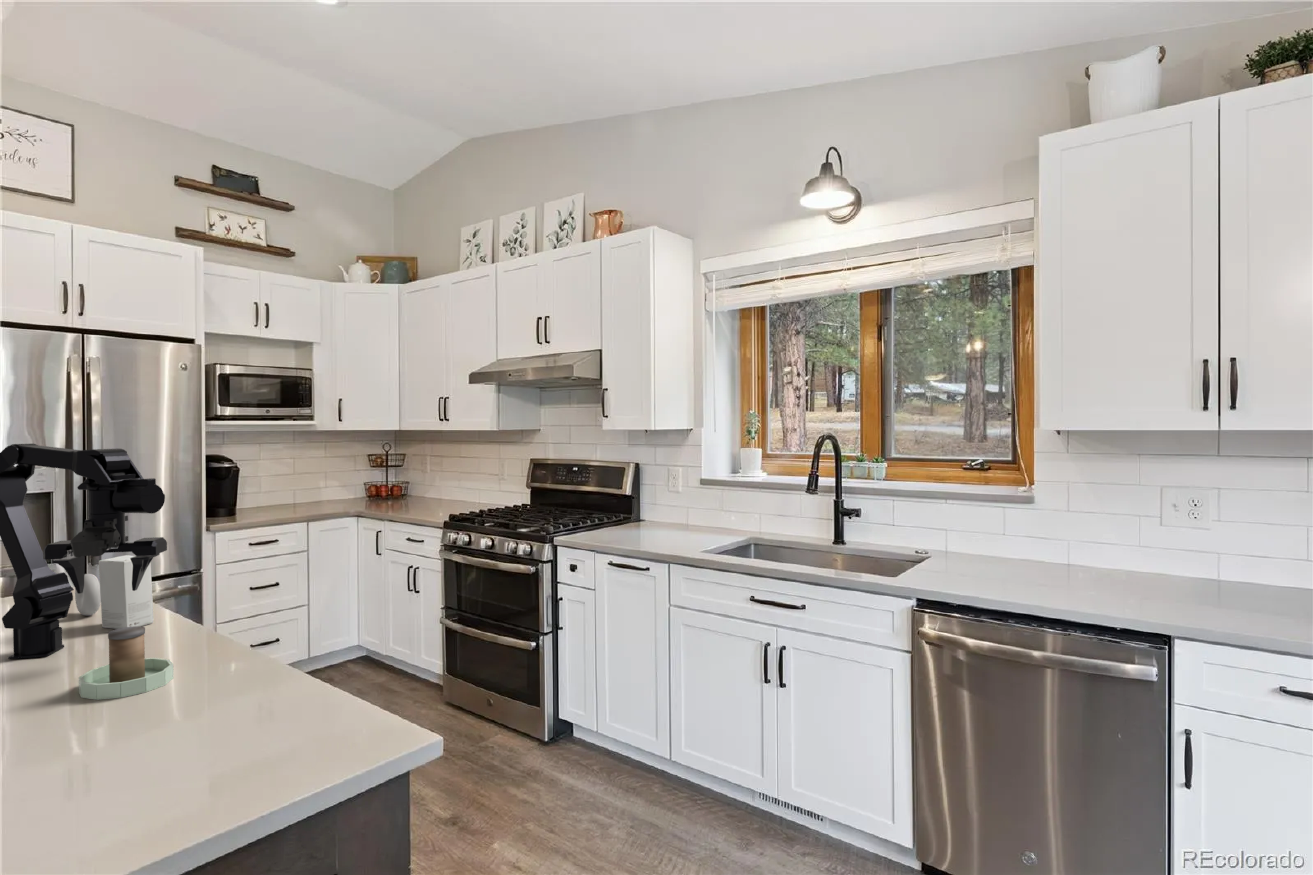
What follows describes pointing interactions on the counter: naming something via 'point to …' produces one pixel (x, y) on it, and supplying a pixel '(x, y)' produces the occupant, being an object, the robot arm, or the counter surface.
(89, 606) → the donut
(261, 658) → the counter surface
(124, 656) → the walnut spice jar
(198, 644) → the counter surface
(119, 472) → the robot arm
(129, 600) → the skincare box
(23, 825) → the counter surface
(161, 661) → the sage green dish
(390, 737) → the counter surface
